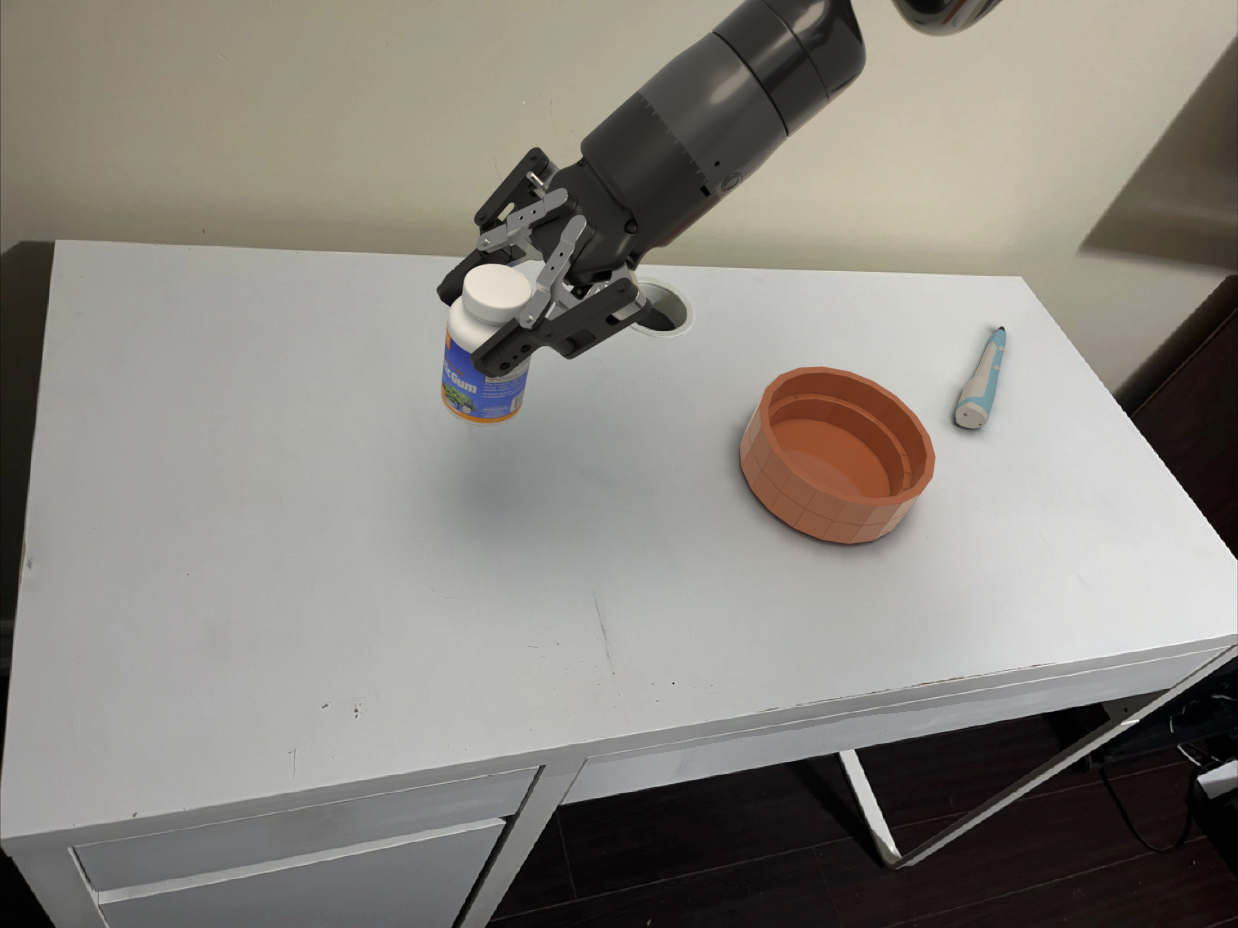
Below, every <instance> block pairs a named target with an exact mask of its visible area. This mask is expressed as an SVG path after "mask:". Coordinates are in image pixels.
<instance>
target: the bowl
mask: <svg viewBox="0 0 1238 928" xmlns="http://www.w3.org/2000/svg"><path fill="white" fill-rule="evenodd" d="M739 457H740V468H741V470H742V472H743V475H744V477H745V479H746V481H747V483H748V486H749V488H750V490H751V491H752V493H754V494H755V496H756V497H757V499H759V500H760V501H761V503H762V504H763V505H764V506H765V507H766V509H767V510H768V511H769V512H770V513H772V514H773V515H774V516H776V517H777V518H778V519H780V520H781V521H782V522H784V523H785V524H787V525H788V526H789V527H791V528H793V529H795V530H796V531H799V532H802V533H804V534H806V535H808V536H811V537H814V538H816V539H819V540H822V541H826V542H827V541H828V542H834V543H841V544H847V545H853V544H859V543H866V542H873V541H876V540H877V539H879V538H881V537H883V536H885V535H887V534H889V533H891V532H892V531H893V530H894V529H895V528H896V527H897V526H898V524H899V523H900V522H901V520H902V519H903V518H904V516H906V514H907V513H908V511H909V510H910V509H911V508H912V506H913V505H914V504H915V502H916V501H917V500H918V498H920V496H921V495H922V493H923V492H924V490H925V489H926V488H927V486H928V485H929V484H930V482H931V481H932V479H933V477H934V473H935V472H934V471H935V466H936V465H935V463H936V453H935V449H934V445H933V442H932V439H931V436H930V434H929V433H928V431H927V429H926V428H925V426H924V425H923V423H922V422H921V419H920V418H919V417H918V415H917V414H916V413H915V412H914V411H913V410H912V409H911V408H910V407H909V406H908V405H907V404H906V403H905V402H904V401H902V399H901V398H900V397H899V396H898V395H896V394H894V393H893V392H891V391H890V390H889V389H886V388H885V387H884V386H882V385H880V384H879V383H877V382H876V381H874V380H872V379H869V378H868V377H864V376H862V375H860V374H858V373H855V372H852V371H850V370H845V369H839V368H834V367H829V366H821V365H819V366H802V367H797V368H794V369H791V370H789V371H786V372H783V373H781V374H779V375H778V376H777V377H776V378H775V379H773V380H772V381H771V382H770V383H769V384H768V385H767V386H766V387H765V389H764V390H763V393H762V394H761V397H760V399H759V400H758V403H757V405H756V407H755V409H754V411H753V413H752V415H751V418H750V419H749V422H748V424H747V425H746V427H745V431H744V433H743V435H742V438H741V441H740V444H739Z"/></svg>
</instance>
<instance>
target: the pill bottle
mask: <svg viewBox="0 0 1238 928" xmlns="http://www.w3.org/2000/svg"><path fill="white" fill-rule="evenodd" d="M532 297H533V287H532V284H531V282H530V280H529V279H528V277H526V275H525V274H523V273H522V272H521V271H519V270H517V269H515V268H514V267H512V268H511V267H508V266H505V265H500V264H486V265H481V266H478V267H475V268H474V269H472V270H471V271H469V272H468V274H467V275H466V277H465V279H464V284H463V293H462V296H460V297H459V298H458V299H457V300H456V301H455V302H454V303H453V304H452V306H451V307H449V310H448V314H447V321H446V330H445V331H446V332H445V342H444V353H443V363H442V374H441V385H440V396H441V401H442V403H443V405H444V407H445V409H446V410H447V412H448V413H449V414H450V415H451V416H452V417H454V418H455V419H456V420H458V421H460V422H462V423H464V424H467V425H470V426H475V427H481V428H482V427H483V428H486V427H489V428H490V427H497V426H500V425H503V424H504V425H505V424H506V423H508V422H509V421H511V420H512V419H514V418H515V417H516V416H517V415H518V414H519V411H520V409H521V407H522V405H523V402H524V395H525V390H526V385H527V380H528V374H529V370H530V365H531V360H532V356H533V353H532V354H531V355H530V356H529V357H528V358H526V359H525V360H524V361H523V362H522V363H520V364H519V365H518V366H517V367H516V368H514V369H513V370H512V371H511V372H510V373H509V374H507V375H505V376H502V377H496V378H489V377H487V376H485V375H484V374H482V373H481V372H479V371H477V370H476V369H475V368H474V366H473V364H472V362H471V360H470V355H471V354H472V353H473V352H474V351H475V350H476V349H477V348H479V347H480V346H481V345H482V344H483V343H484V342H485V341H487V340H488V339H489V338H490V337H491V336H492V335H494V334H495V333H496V332H497V331H498V330H499V329H501V328H502V327H503V326H504V325H505V324H506V323H508V322H509V321H510V320H511V319H512V318H513V317H515V318H516V319H517V320H519V318H520V315H521V314H522V312H523V310H524V309H525V307H526V306H527V304H528V303H529V301H530V300H531V298H532Z"/></svg>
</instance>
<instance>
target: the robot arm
mask: <svg viewBox="0 0 1238 928" xmlns="http://www.w3.org/2000/svg"><path fill="white" fill-rule="evenodd" d="M889 1H890V3H891V4H892V5H893V7H894V9H895V10H896V12H897V14H898V15H899V16H900V18H901V20H903V21H904V23H905V24H906V25H907V26H908V27H910V28H911V29H912V30H914V31H915V32H917V33H919V34H922V35H925V36H929V37H932V38H945V37H946V38H947V37H951V36H954V35H958V34H960V33H963V32H964V31H966V30H968V29H970V28H972V27H974V26H975V25H977V24H978V23H980V22H981V21H982V20H984V19H985V18H987V16H989V15H990V14H991V13H992V12H993V11H995V10H996V8H997V7H999V5H1000V4H1002V3H1003V2H1004V1H1005V0H889ZM866 63H867V48H866V43H865V39H864V36H863V31H862V29H861V26H860V23H859V20H858V17H857V15H856V12H855V9H854V6H853V3H852V0H743V1H742V2H741V3H740V4H738V6H737V7H736V8H735V9H733V10H732V11H730V13H729V14H728V15H727V16H725V17H724V19H722V20H721V21H720V22H718V24H717V25H716V26H714V27H713V28H712V29H711V32H708V33H706V34H705V35H704V36H703V37H702V38H700V39H699V40H698V41H695V43H693V44H692V45H690V46H689V47H687V48H686V49H684V50H683V51H681V52H679V53H678V54H677V55H676V56H674V57H673V58H672V59H670V61H668V62H667V63H666V64H664V66H663V67H661V68H660V69H659V70H658V71H657V72H656V73H655V74H654V75H653V76H651V77H650V78H649V79H648V80H647V81H646V82H645V83H644V84H643V85H641V86H640V87H639V88H638V89H637V90H636V91H635V92H634V93H633V94H632V95H631V96H629V97H628V98H627V99H626V100H625V101H624V102H623V103H621V104H620V105H619V106H618V107H617V108H616V109H615V110H614V111H613V112H612V113H611V114H609V115H608V116H607V117H606V118H605V119H604V120H603V121H602V122H601V123H599V124H598V125H597V126H596V127H595V128H594V129H592V131H590V132H589V133H588V134H587V135H586V136H585V137H584V138H582V140H581V142H580V144H579V145H580V147H579V149H580V153H581V158H580V159H579V160H578V161H576V162H574V163H572V164H571V165H568V166H565V167H563V168H559V167H558V166H557V165H556V164H555V163H554V162H553V160H552V159H551V158H550V157H549V156H548V155H547V154H546V153H545V152H544V151H543V150H542V148H541V147H539V146H534V147H532V148H531V149H529V150H528V152H527V153H526V154H525V155H524V156H523V157H522V158H521V159H520V161H519V162H518V163H517V165H515V167H514V168H513V169H512V170H511V171H510V172H509V174H508V175H507V176H506V177H505V179H504V180H503V181H502V182H501V183H500V184H499V186H498V187H497V188H496V189H495V190H494V191H493V193H492V194H491V195H490V196H489V197H488V199H486V201H485V202H484V203H483V204H482V205H481V206H480V208H479V209H478V210H477V212H476V213H475V214H474V217H473V221H474V224H475V225H476V226H477V227H478V228H479V229H478V230H479V237H478V238H477V240H476V242H475V243H476V244H475V245H476V248H475V249H474V250H472V252H470V253H469V254H467V256H465V258H463V259H462V260H461V261H459V263H458V264H457V265H456V266H455V267H453V269H451V270H450V271H449V272H448V273H447V274H446V275H445V276H444V278H443V279H442V281H441V282H440V284H439V285H438V286H437V287H436V290H435V291H436V293H437V296H438V298H439V300H440V301H441V302H442V303H444V304H445V305H446V306H448V307H449V308H451V306H452V304H453V303H454V302H455V301H456V300H457V299H458V298H459V297H460V296H462V293H463V284H464V279H465V277H466V275H467V274H468V272H469V271H471V270H472V269H474V268H475V267H478V266H481V265H486V264H500V265H505V266H508V267H511V268H514V267H516V266H519V265H521V264H524V263H526V262H528V261H535V262H542V261H543V262H544V266H543V267H542V269H541V271H540V272H539V274H538V275H537V277H536V279H535V285H536V290H535V292H534V294H532V296H531V300H530V301H529V303H528V304H527V306H526V307H525V309H524V310H523V312H522V314H521V315H520V318H519V320H517V319H516V318H515V317H513V318H512V319H511V320H510V321H509V322H508V323H506V324H505V325H504V326H503V327H502V328H501V329H499V330H498V331H497V332H496V333H495V334H494V335H492V336H491V337H490V338H489V339H488V340H487V341H485V342H484V343H483V344H482V345H481V346H480V347H479V348H477V349H476V350H475V351H474V352H473V353H472V354H471V355H470V360H471V362H472V364H473V366H474V368H475V369H476V370H477V371H479V372H481V373H482V374H484V375H485V376H487V377H489V378H496V377H502V376H505V375H507V374H509V373H510V372H511V371H512V370H513V369H514V368H516V367H517V366H518V365H519V364H520V363H522V362H523V361H524V360H525V359H526V358H528V357H529V356H530V355H531V354H532V355H533V354H534V353H535V352H536V351H537V350H539V349H540V348H542V347H549V348H550V349H552V350H553V351H555V352H556V353H558V354H559V355H560V356H562V358H564V359H565V360H568V361H570V360H573V359H576V358H577V357H579V356H581V355H582V354H584V353H586V352H587V351H589V350H591V349H592V348H594V347H596V346H597V345H599V344H601V343H603V342H605V341H606V340H607V339H609V338H611V337H614V336H615V335H616V334H618V333H620V332H621V331H623V330H625V329H626V328H628V327H630V326H631V325H633V324H635V323H637V322H638V321H641V320H642V319H644V318H645V317H647V316H648V315H649V314H650V313H651V311H652V308H653V303H652V301H651V300H650V299H649V298H648V296H646V294H645V293H644V292H643V291H642V290H641V287H640V284H639V282H638V279H637V276H636V273H635V272H636V270H637V269H638V267H639V265H640V263H641V261H642V259H643V258H644V257H645V255H646V254H647V253H648V252H650V251H651V250H653V249H656V248H666V247H668V246H670V244H672V243H673V242H674V241H676V239H677V238H679V237H680V236H681V235H683V234H684V233H685V232H686V231H687V230H688V229H690V228H691V227H693V225H694V224H695V223H697V222H698V221H699V220H700V219H702V218H703V217H704V216H705V215H707V214H708V213H709V212H710V211H711V210H712V209H713V208H714V207H716V206H717V205H718V204H719V203H721V202H722V201H723V200H724V199H725V198H726V197H728V196H729V195H730V194H731V193H733V192H734V191H735V190H736V189H737V188H739V186H741V185H742V184H743V183H744V182H746V180H748V179H749V178H750V177H751V176H752V175H754V174H755V173H756V172H757V171H758V170H759V169H760V168H761V167H762V166H763V165H764V164H765V163H766V162H767V161H768V160H769V158H771V156H772V155H773V154H775V152H776V151H777V150H778V149H779V148H780V147H781V146H782V145H783V144H784V143H785V142H786V141H787V140H788V138H790V137H792V136H793V135H794V134H795V133H797V132H798V131H799V130H800V129H801V128H802V127H804V126H805V125H806V124H807V123H808V122H809V121H811V120H812V119H813V118H814V117H816V116H817V115H818V114H819V113H820V112H822V111H823V110H824V109H825V108H826V107H828V106H829V105H830V104H832V103H833V102H834V101H835V100H836V99H838V98H839V97H840V96H841V95H842V94H843V93H844V92H845V91H846V90H848V89H849V88H850V87H851V86H852V85H853V84H854V83H855V82H856V81H857V80H858V79H859V77H860V76H861V75H862V73H863V72H864V69H865V67H866V65H867V64H866ZM510 204H513V207H512V209H511V210H510V211H509V213H507V215H506V216H505V217H504V218H503V219H500V218H499V217H500V215H501V214H502V213H503V212H504V211H505V210H506V209H507V207H508V206H509V205H510ZM563 284H564V285H565V286H567V287H568V286H570V287H572V288H571V289H570V291H569V290H568V289H567V288H566V287H564V285H563ZM598 289H599V291H597V290H598ZM554 303H555V304H554ZM553 305H554V306H553ZM552 307H553V308H552ZM551 308H552V310H551ZM550 310H551V311H550ZM549 312H550V313H549ZM548 313H549V315H548V316H547V314H548ZM546 316H547V317H546Z"/></svg>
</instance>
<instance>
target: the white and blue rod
mask: <svg viewBox="0 0 1238 928" xmlns="http://www.w3.org/2000/svg"><path fill="white" fill-rule="evenodd" d="M1006 342H1007V333H1006V329H1005V327H1004V326H1003V325H1001V326H999V327H998V328H997V329H996V330H995V331H994V332H993V334H992V335H991V336H990V338H989V341H988V343H987V345H986V347H985V349H984V352H983V354H982V356H981V358H980V361H979V364H978V366H977V369H976V370H975V372H974V373H973V375H972V377H971V378H970V379H969V380H967V381H966V382H965V383H964V386H963V388H962V391H961V394H960V397H959V400H958V403H957V405H956V408H955V417H954V418H955V422H956V424H958V425H959V426H960V427H963V428H966V429H974V430H975V429H979V428H981V427H983V426H985V425H986V424H987V422H988V419H989V417H990V413H991V410H992V407H993V405H994V400H995V396H996V391H997V386H998V380H999V375H1000V371H1001V365H1002V360H1003V356H1004V352H1006V349H1005V347H1006Z"/></svg>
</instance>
